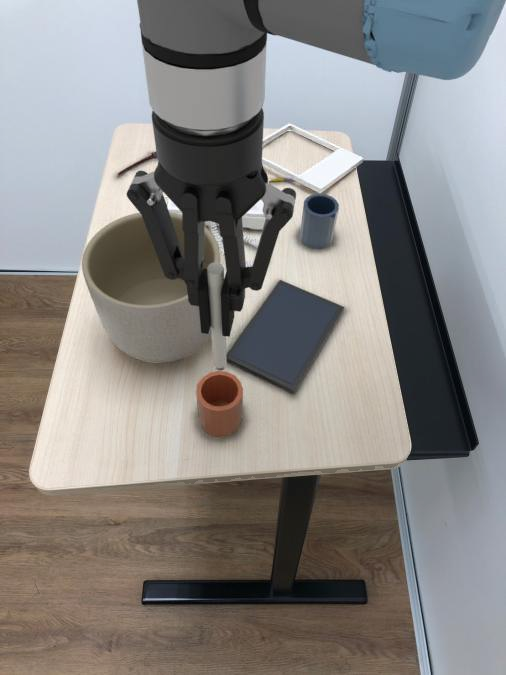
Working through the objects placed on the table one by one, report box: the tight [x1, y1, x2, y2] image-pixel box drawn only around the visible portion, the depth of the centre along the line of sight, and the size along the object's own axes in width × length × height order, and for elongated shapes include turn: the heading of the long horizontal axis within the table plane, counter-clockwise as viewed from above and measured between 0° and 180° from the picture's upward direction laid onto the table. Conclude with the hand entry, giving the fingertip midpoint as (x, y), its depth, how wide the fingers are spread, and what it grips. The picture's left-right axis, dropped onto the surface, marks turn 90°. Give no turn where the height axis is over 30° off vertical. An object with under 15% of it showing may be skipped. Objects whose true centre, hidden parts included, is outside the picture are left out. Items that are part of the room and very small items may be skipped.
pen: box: [269, 178, 294, 182], centre depth 100 cm, size 14×1×1 cm, turn 98°
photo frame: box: [262, 122, 365, 194], centre depth 103 cm, size 15×1×18 cm
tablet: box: [226, 279, 345, 395], centre depth 79 cm, size 11×17×1 cm, turn 151°
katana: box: [117, 151, 157, 177], centre depth 102 cm, size 13×2×1 cm, turn 137°
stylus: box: [207, 262, 228, 371], centre depth 54 cm, size 2×2×16 cm
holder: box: [299, 193, 340, 250], centre depth 89 cm, size 6×6×7 cm
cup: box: [195, 370, 244, 438], centre depth 68 cm, size 6×6×7 cm
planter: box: [81, 212, 221, 364], centre depth 73 cm, size 17×17×15 cm
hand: (218, 324), depth 55 cm, fingers closed on stylus, 1 cm apart
